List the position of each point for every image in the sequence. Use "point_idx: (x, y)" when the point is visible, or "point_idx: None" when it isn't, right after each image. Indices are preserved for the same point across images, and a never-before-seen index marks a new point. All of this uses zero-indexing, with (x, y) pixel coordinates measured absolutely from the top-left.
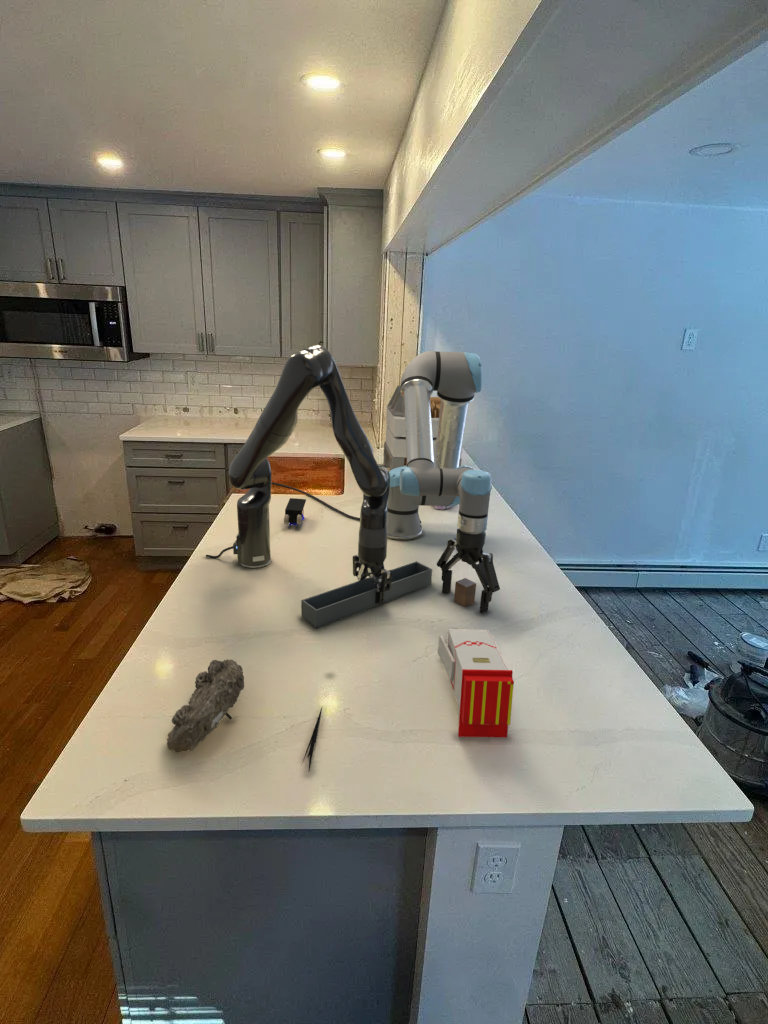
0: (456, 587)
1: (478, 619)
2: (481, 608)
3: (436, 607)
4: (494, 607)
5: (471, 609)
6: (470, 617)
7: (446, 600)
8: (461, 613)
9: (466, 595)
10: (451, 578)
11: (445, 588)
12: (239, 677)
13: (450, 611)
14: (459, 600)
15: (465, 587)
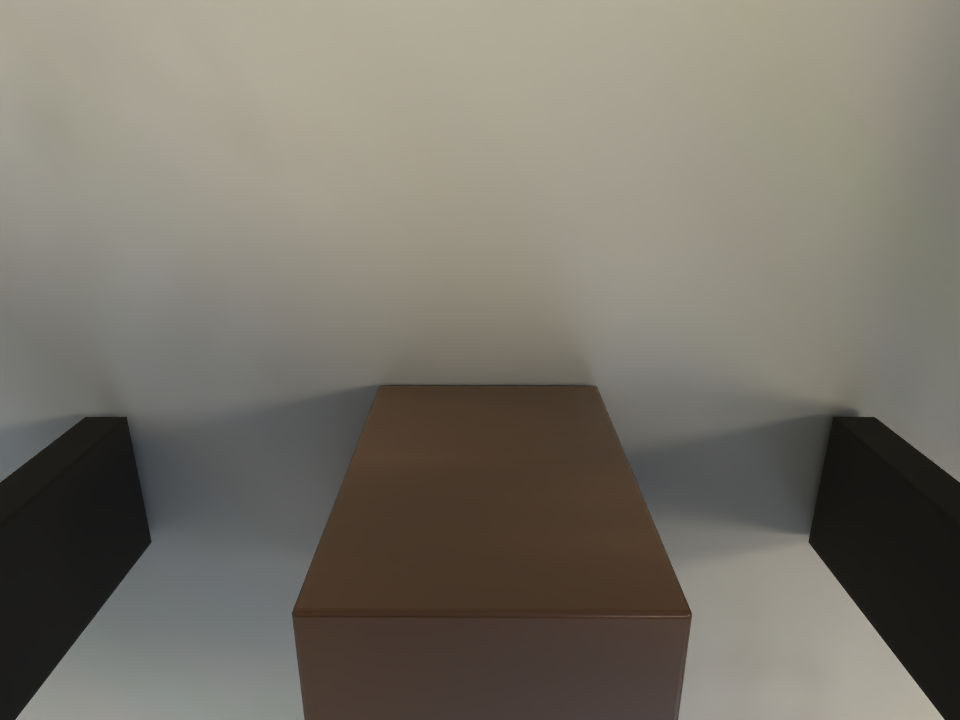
0: (615, 525)
1: (5, 284)
2: (41, 457)
3: (654, 3)
4: (170, 663)
5: (281, 415)
6: (105, 231)
7: (690, 321)
8: (268, 209)
9: (341, 497)
10: (943, 716)
11: (876, 488)
12: None
13: (412, 108)
14: (486, 409)
15: (337, 598)
